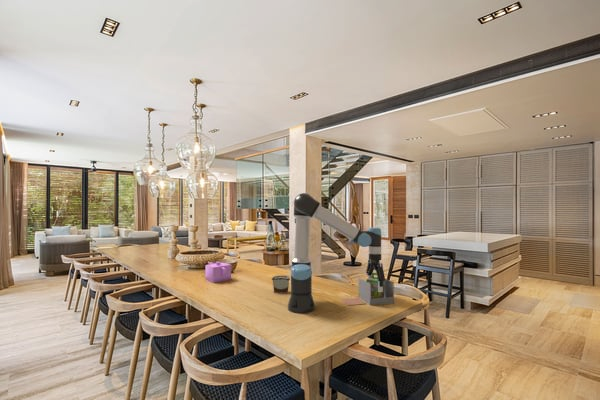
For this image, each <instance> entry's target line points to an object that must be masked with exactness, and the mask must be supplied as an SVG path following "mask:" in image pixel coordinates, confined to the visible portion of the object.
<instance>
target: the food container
mask: <svg viewBox="0 0 600 400" xmlns="http://www.w3.org/2000/svg"><path fill="white" fill-rule="evenodd" d="M271 281H272V286H273V293H275V294H276V293H279V294H281V293H282V294H283V293H284V294H288V293H289V288H290V287H289V286H290V281H291V277H290V276H288V275H275V276H273V277H271Z"/></svg>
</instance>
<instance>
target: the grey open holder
mask: <svg viewBox="0 0 600 400" xmlns="http://www.w3.org/2000/svg"><path fill="white" fill-rule="evenodd" d="M357 279H358V298H359V299H361V300H362V301H363V302H365V303H366V304H367V305H369V306H377V305H387V304H388V305H389V304H394V303H395V290H394V289H395V282H393V281H391V280H390V279H387V278H385V280H384V298H374V299H371V284H370V283H368V282H366V280H364V279H362V278H361V277H358V278H357Z"/></svg>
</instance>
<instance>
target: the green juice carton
mask: <svg viewBox="0 0 600 400" xmlns="http://www.w3.org/2000/svg"><path fill="white" fill-rule="evenodd" d="M376 276H377V273H376V272H373V273H372V277H369V278H368V277H367V279H366V280H365V281H366V282H368V283H370V284H371V299H374V298H384V281H383V292H378V280H379V279H378V276H377V277H376Z"/></svg>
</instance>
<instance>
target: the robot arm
mask: <svg viewBox="0 0 600 400" xmlns="http://www.w3.org/2000/svg"><path fill="white" fill-rule="evenodd" d="M293 216H294V218H295V231H294V232H295V234H294V235H295V237H294V238H295V240H294V258H293V259H292V260H291V268H290V296H289V301H288V302H287V310H288V311H290V312H292V313H295V314H296V313H297V314H307V313H312V312H314V311H315V310H316V303H315V299H314V297H313V293H312V280H313V279H312V275H313V271H312V268H311V267H312V261H311V260H310V255H309V254H310V233H311V232H310V231H311V229H310V228H311V219H313V218H315V219H316V220H318V221H320V222H321V223H323V224H325V225H326V226H328V227H330V228H332V230H335V231H336V232H337V233H340V235H342V236H344V237H346V238H347V239H348V243H349V244H354V245H355V244H357V245H359V246H360V247H362V248H366V247H368V260H367V266H366V272H365V274H367V279H368V278H369V277H372V273H374V271H375V273H377V275H376V276H378V279H379V280H378V292H383V281H384V280H385V279H386V277H385V273H384V266H383V263H382V262H381V260H382V249H383V247H382V236H383V235H382V229H381V228H380V227H368V230H365V231H364V230H361V229H359V228H357V227H356V226H355V225H353V224H351V223H350V222H348V221H346V220H345V219H343V218H341V217H340V216H339V215H337V214H335V213H334V212H332V211H330V210H329V209H327V208H326V207H324V206H322V203H321V202H320V201H318V200H316V199H315V198H314V197H313V196H312V195H310V194H309V193H306V192H304V193H303V192H302V193H299V194H298V195H296V196H295V198H294V201H293Z"/></svg>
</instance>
